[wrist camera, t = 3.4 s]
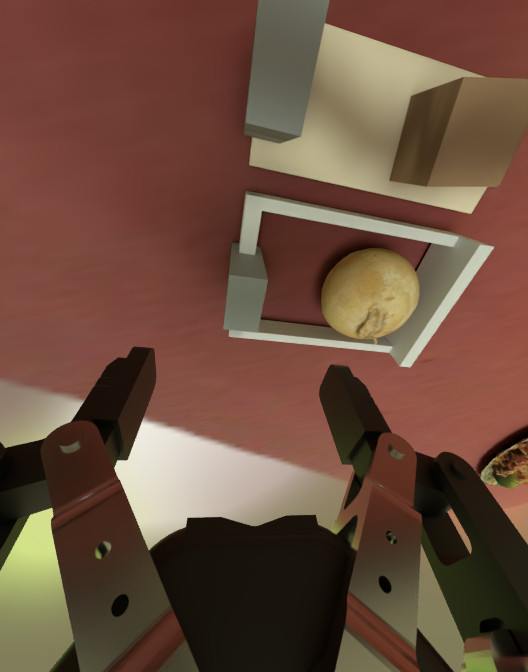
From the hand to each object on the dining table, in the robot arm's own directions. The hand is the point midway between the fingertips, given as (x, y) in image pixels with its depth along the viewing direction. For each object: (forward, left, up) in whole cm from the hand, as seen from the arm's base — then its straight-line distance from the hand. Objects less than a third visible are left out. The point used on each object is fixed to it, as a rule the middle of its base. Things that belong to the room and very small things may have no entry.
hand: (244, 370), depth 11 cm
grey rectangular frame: (0, +9, -13) cm, 16 cm away
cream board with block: (-11, +9, -13) cm, 19 cm away
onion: (0, +11, -14) cm, 17 cm away
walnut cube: (-11, +12, -12) cm, 20 cm away
